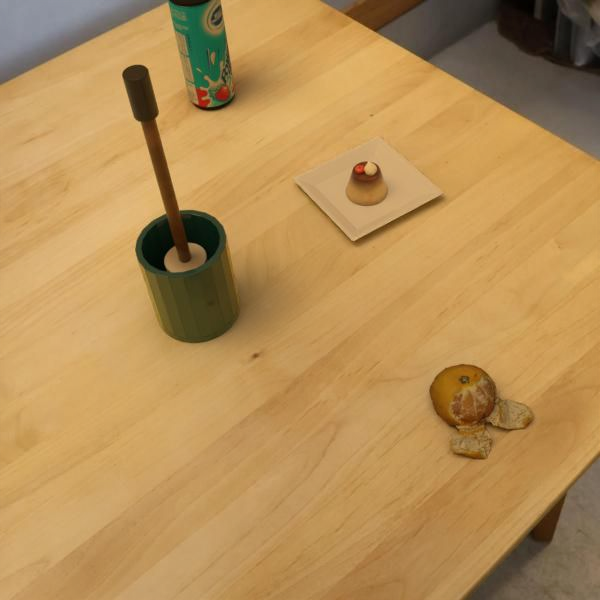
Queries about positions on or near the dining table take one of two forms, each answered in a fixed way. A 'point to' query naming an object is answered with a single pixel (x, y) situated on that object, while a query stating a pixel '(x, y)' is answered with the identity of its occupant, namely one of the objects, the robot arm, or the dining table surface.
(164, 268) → the cup
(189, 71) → the beverage can
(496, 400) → the fruit
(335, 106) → the dining table surface
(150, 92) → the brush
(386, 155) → the dessert
